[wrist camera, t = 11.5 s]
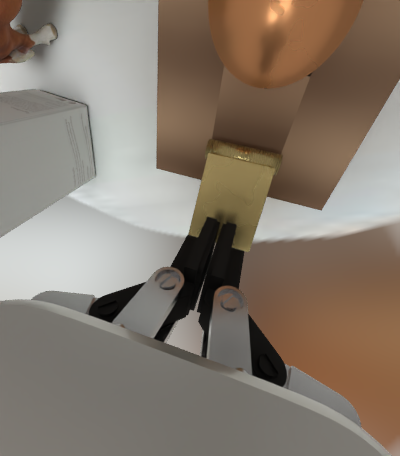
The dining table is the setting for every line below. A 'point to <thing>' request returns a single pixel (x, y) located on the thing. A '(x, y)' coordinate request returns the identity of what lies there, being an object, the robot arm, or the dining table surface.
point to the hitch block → (273, 101)
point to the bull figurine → (19, 35)
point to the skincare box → (40, 153)
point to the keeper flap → (234, 189)
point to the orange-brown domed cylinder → (278, 36)
